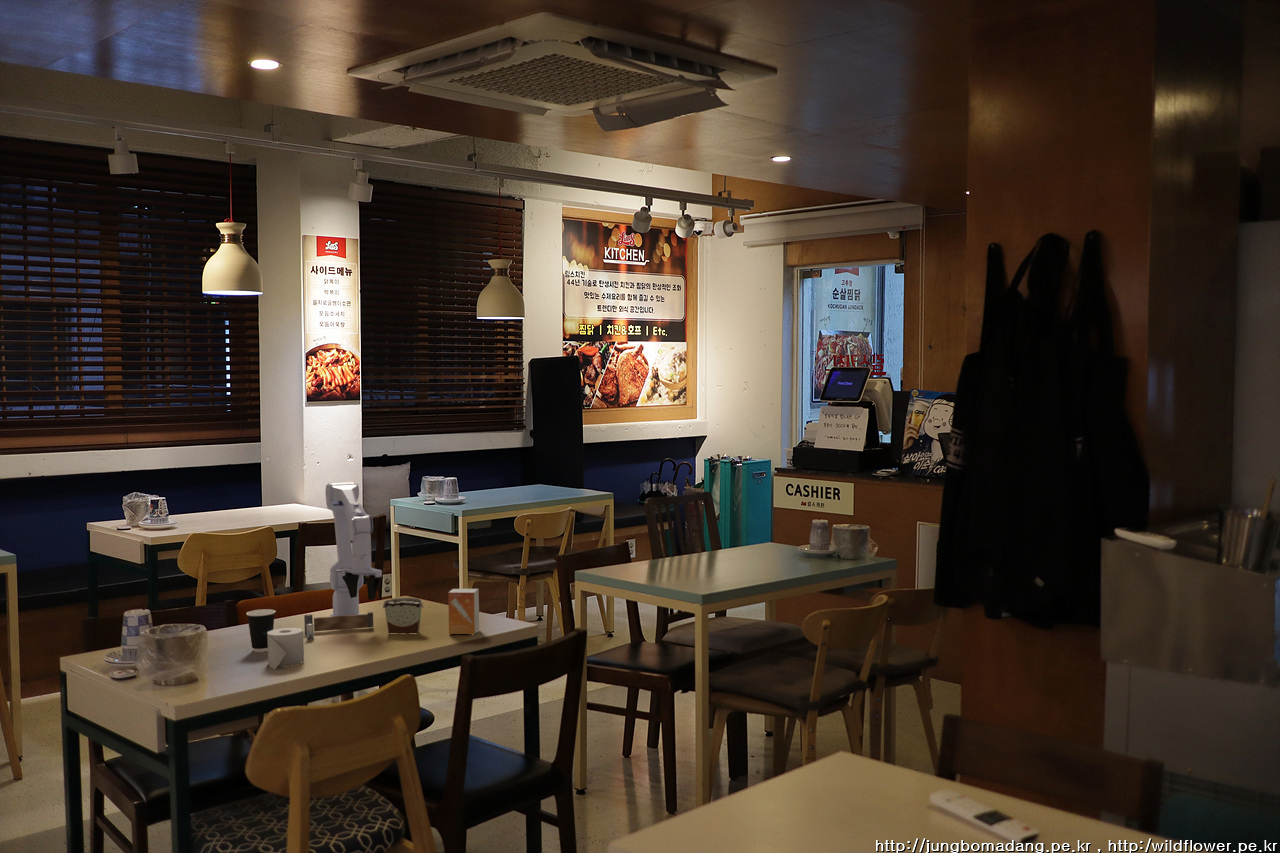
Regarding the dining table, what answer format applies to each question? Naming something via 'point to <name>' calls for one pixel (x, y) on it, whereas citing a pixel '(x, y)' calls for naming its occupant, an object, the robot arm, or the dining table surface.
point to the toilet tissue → (285, 647)
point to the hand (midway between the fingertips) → (362, 598)
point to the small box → (463, 611)
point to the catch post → (310, 631)
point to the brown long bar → (343, 622)
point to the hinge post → (308, 621)
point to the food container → (403, 615)
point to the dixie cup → (260, 628)
